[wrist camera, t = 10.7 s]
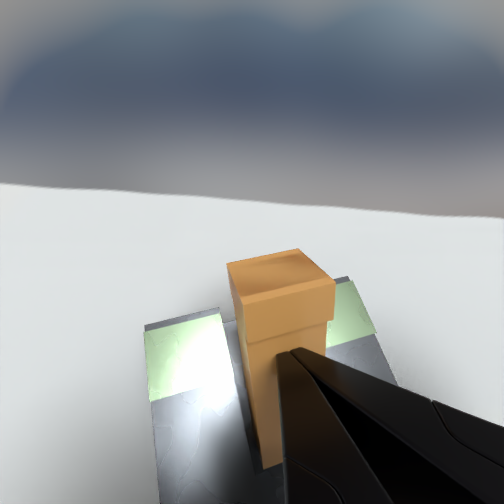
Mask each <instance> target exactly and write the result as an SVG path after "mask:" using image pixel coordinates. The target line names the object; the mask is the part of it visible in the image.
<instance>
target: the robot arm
mask: <svg viewBox="0 0 504 504" xmlns="http://www.w3.org/2000/svg"><path fill="white" fill-rule="evenodd" d="M276 369H277V384H278V398H279V412H280V427H281V441H282V455H283V473H284V492H285V504H504V427H503V426H500V425H497V424H494V423H491V422H489V421H486V420H484V419H481V418H478V417H476V416H473V415H471V414H468V413H465V412H463V411H460V410H458V409H455V408H453V407H450V406H448V405H445V404H443V403H440V402H438V401H435V400H433V401H432V402H431V400H430V399H429V398H426V397H424V396H421V395H419V394H416V393H414V392H412V391H409V390H407V389H404V388H402V387H399V386H397V385H394V384H392V383H389V382H387V381H384V380H382V379H380V378H377V377H375V376H372V375H370V374H367V373H365V372H362V371H360V370H357V369H355V368H352V367H350V366H347V365H345V364H343V363H340V362H338V361H335V360H333V359H330V358H328V357H325V356H323V355H320V354H318V353H315V352H313V351H311V350H308V349H306V348H303V347H298V348H295V349H292V350H290V351H285V352H282V353H278V354H276Z"/></svg>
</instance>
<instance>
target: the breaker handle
mask: <svg viewBox="0 0 504 504" xmlns="http://www.w3.org/2000/svg"><path fill="white" fill-rule="evenodd" d="M226 265H227V271H228V277H229V284H230V290H231V296H232V299H233V303H234V310H235V317H236V323H237V330H238V336H239V343H240V350H241V356H242V363H243V369H244V376H245V382H246V389H247V396H248V402H249V409H250V415H251V422H252V428H253V432H254V435H255V439H256V443H257V447H258V451H259V455H260V458H261V462H262V466H263V470H264V469H266V468H269V467H272V466H274V465H277V464H279V463H282V462H283V455H282V441H281V427H280V412H279V398H278V384H277V369H276V354H278V353H282V352H285V351H290V350H292V349H295V348H298V347H303V348H306V349H308V350H311V351H313V352H315V353H318V354H320V355H323V356H325V353H326V334H327V321H331V320H334V306H335V291H336V282H335V281H334V280H333V279H332V278H331V277H330V276H329V275H327V274H326V273H325V272H324V271H323V270H322V269H321V268H320V267H318V266H317V265H316V264H315V263H314V262H313V261H312V260H311V259H309V258H308V257H307V256H306V255H305V254H304V253H303V252H302V251H300V250H299V249H293V250H288V251H283V252H278V253H274V254H269V255H264V256H259V257H254V258H250V259H245V260H240V261H235V262H230V263H226Z"/></svg>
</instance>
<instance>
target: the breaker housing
mask: <svg viewBox="0 0 504 504" xmlns="http://www.w3.org/2000/svg"><path fill="white" fill-rule="evenodd" d="M333 280H334V281H335V282H336V291H335V306H334V320H331V321H327V334H326V353H325V357H328V358H330V359H333V360H335V361H338V362H340V363H343V364H345V365H347V366H350V367H352V368H355V369H357V370H360V371H362V372H365V373H367V374H370V375H372V376H375V377H377V378H380V379H382V380H384V381H387V382H389V383H392V384H394V385H397V386H398V384H397V382H396V380H395V378H394V376H393V373H392V371H391V369H390V367H389V365H388V363H387V360H386V358H385V356H384V354H383V352H382V349H381V347H380V345H379V343H378V341H377V338H376V336H375V334H374V333H377V332H376V330H375V328H374V326H373V324H372V321H371V319H370V317H369V315H368V313H367V311H366V308H365V306H364V304H363V302H362V300H361V298H360V295H359V293H358V291H357V289H356V287H355V285H354V282H353V280H352V281H350V279H349V277H348V276H345V277H341V278H337V279H333ZM144 326H145V332H144V343H145V355H146V366H147V378H148V390H149V401H150V402H151V406H152V418H153V429H154V441H155V452H156V463H157V475H158V486H159V498H160V504H285V492H284V473H283V462H282V463H279V464H277V465H274V466H272V467H269V468H266V469H264V470H263V466H262V462H261V458H260V455H259V451H258V447H257V443H256V439H255V435H254V432H253V428H252V422H251V415H250V409H249V402H248V396H247V389H246V382H245V376H244V369H243V363H242V356H241V350H240V343H239V336H238V330H237V323H236V320H234V321H231V322H227V323H223V324H222V319H221V315H220V311H219V307H218V308H214V309H210V310H206V311H201V312H197V313H193V314H189V315H185V316H181V317H177V318H173V319H169V320H164V321H160V322H156V323H152V324H148V325H144Z"/></svg>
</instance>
